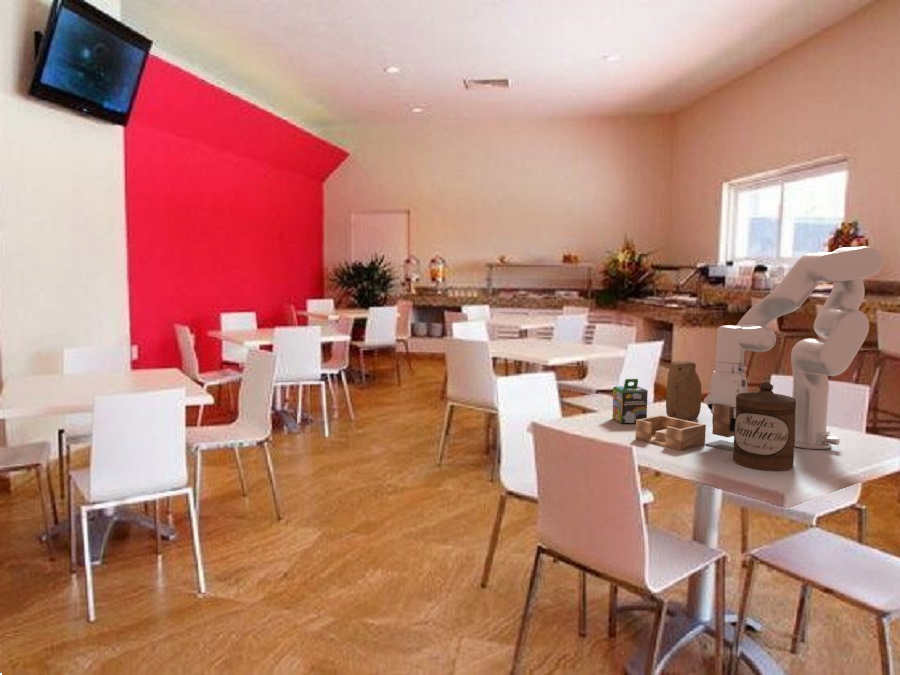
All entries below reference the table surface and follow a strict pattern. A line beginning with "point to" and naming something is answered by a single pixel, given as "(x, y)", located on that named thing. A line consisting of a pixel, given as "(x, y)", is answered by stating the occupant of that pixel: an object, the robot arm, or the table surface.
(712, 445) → the grey pad
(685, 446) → the oak crate
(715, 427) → the walnut block
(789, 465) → the wooden container
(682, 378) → the brown tall rounded lump
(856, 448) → the table surface
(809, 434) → the robot arm
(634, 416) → the chalk box
